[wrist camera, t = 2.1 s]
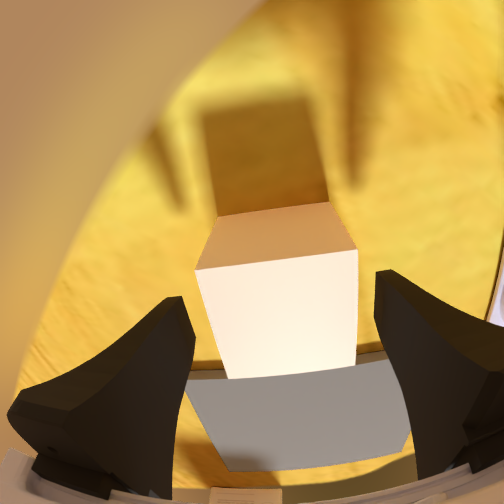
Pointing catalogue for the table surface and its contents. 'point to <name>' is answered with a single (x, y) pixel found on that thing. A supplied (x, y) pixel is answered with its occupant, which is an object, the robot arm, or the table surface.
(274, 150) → the table surface
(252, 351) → the cube
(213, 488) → the small box
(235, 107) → the table surface
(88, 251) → the table surface
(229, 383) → the mat
